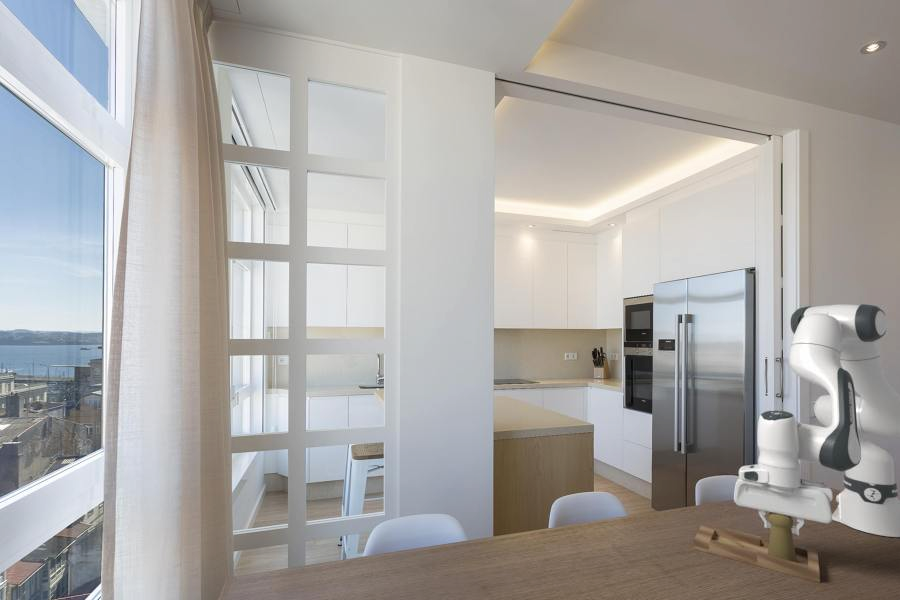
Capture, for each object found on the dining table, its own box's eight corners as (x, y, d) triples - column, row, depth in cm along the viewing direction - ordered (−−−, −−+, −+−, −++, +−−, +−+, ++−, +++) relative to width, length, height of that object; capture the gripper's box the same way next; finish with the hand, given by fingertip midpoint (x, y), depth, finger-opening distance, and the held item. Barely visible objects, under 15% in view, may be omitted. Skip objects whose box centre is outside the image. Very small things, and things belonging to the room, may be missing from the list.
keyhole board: (702, 531, 131) (702, 522, 131) (817, 559, 115) (817, 549, 115) (694, 548, 120) (693, 539, 120) (820, 582, 104) (819, 571, 104)
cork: (802, 565, 110) (800, 518, 111) (775, 562, 112) (773, 516, 112) (788, 553, 116) (786, 509, 117) (762, 550, 117) (761, 507, 118)
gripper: (831, 481, 112) (834, 538, 111) (734, 465, 124) (736, 517, 123) (833, 487, 107) (836, 548, 106) (732, 470, 119) (733, 524, 118)
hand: (781, 531), depth 115 cm, fingers closed on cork, 4 cm apart
